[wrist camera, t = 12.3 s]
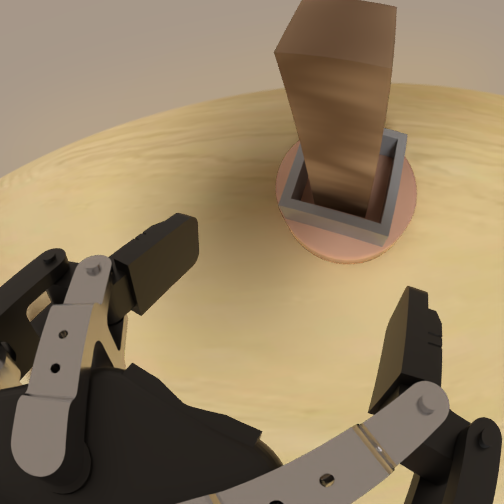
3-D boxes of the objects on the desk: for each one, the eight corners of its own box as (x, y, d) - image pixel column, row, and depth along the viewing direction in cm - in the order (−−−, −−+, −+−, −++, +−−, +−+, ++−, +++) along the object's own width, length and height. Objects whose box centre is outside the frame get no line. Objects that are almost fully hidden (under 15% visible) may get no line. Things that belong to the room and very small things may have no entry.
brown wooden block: (376, 166, 19) (396, 6, 7) (364, 218, 19) (391, 69, 6) (329, 154, 20) (304, -5, 8) (314, 204, 20) (274, 52, 7)
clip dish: (416, 163, 21) (431, 125, 16) (391, 281, 20) (409, 269, 15) (303, 135, 24) (293, 94, 19) (266, 242, 23) (245, 219, 18)
